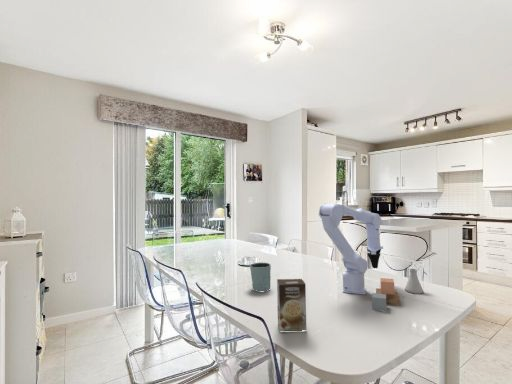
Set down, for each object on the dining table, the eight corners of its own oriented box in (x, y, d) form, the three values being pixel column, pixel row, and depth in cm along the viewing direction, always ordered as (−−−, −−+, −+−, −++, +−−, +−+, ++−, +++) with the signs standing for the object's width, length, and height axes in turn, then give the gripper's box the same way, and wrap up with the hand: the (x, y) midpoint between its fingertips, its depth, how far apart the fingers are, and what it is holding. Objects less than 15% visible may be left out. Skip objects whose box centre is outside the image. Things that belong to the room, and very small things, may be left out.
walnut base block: (378, 304, 115) (377, 294, 115) (376, 297, 122) (376, 288, 122) (399, 306, 112) (399, 296, 112) (396, 299, 120) (396, 289, 120)
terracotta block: (381, 293, 116) (380, 281, 116) (380, 289, 120) (380, 278, 120) (394, 294, 114) (394, 282, 114) (393, 290, 119) (393, 278, 119)
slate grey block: (372, 309, 109) (371, 297, 109) (372, 305, 114) (372, 292, 114) (386, 311, 107) (386, 298, 107) (386, 306, 112) (385, 294, 112)
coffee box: (279, 333, 93) (278, 284, 93) (277, 324, 99) (276, 279, 99) (307, 332, 93) (305, 283, 93) (303, 323, 99) (301, 278, 100)
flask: (414, 295, 123) (413, 272, 123) (401, 290, 130) (400, 268, 130) (427, 293, 125) (426, 270, 125) (414, 288, 132) (413, 266, 132)
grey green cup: (269, 293, 131) (268, 267, 131) (248, 292, 133) (247, 267, 133) (272, 286, 141) (272, 262, 141) (253, 285, 143) (252, 262, 143)
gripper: (381, 240, 127) (384, 270, 127) (382, 234, 140) (384, 261, 140) (365, 240, 130) (367, 269, 130) (367, 235, 143) (369, 261, 143)
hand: (375, 265), depth 136 cm, fingers open, 7 cm apart
